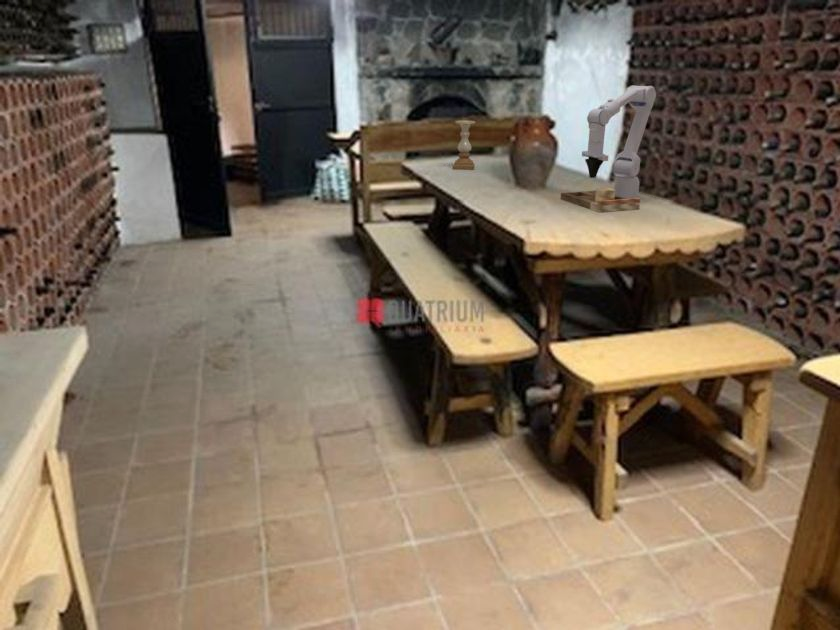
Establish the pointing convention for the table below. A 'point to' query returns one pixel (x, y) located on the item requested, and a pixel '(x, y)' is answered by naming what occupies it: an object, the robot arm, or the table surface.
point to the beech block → (604, 194)
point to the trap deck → (588, 201)
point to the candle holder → (464, 148)
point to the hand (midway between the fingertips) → (592, 177)
